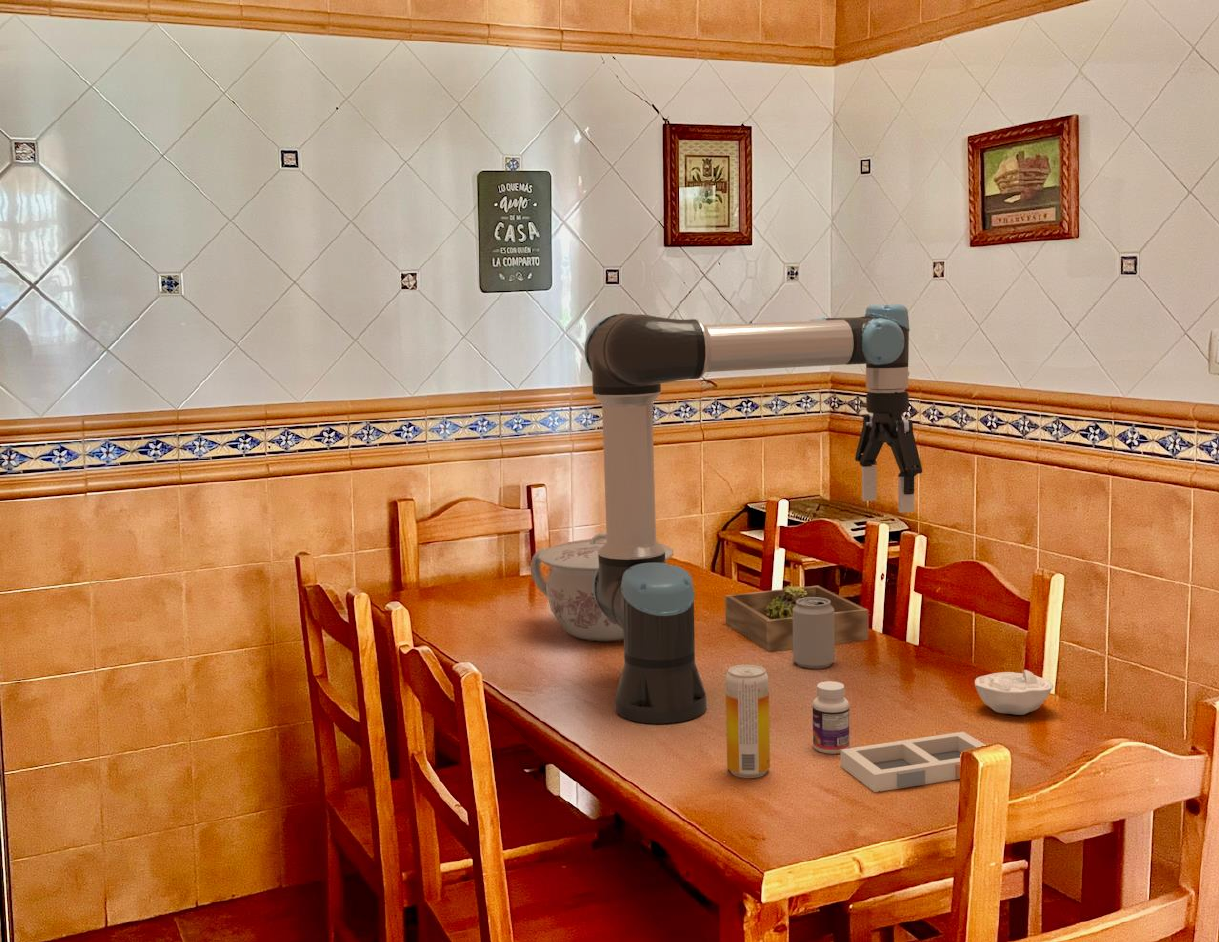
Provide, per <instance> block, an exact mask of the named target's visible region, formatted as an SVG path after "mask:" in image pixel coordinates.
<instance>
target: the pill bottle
mask: <svg viewBox="0 0 1219 942" xmlns="http://www.w3.org/2000/svg"><path fill="white" fill-rule="evenodd" d="M816 693H817V697H815V699H814V700H812V744H813V745H812V746H813V748H814V749H815V751H818V752H819V753H823V754H828V755H829V754H831V755H834V754H835V755H836V754H841V749H848V748H850V702H849V700H848V699H847V698H846V697H844V696H845V694H846V693H845V685H844V684H843V683H842V682H839V681H833V680H832V681H830V680H829V681H822V682H819V683H817V685H816Z"/></svg>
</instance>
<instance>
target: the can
mask: <svg viewBox="0 0 1219 942" xmlns="http://www.w3.org/2000/svg"><path fill="white" fill-rule="evenodd" d="M796 603H797V605H796V606H795V607H794V608H793V649H792V659H793V662H794V663H796V664H797V665H798V666H799V667H801V668H804V669H809V670H810V669H812V670H815V669H816V670H817V669H824V668H825V669H826V668H828V667H830V666H831V665H832V663H834V662H835V659H836V658H835V657H836V655H835V651H836V650H835V645H836V644H834V608H833V607H832V606H831V605H830V603H831V602H830V600H828V599H825V598H820V597H806V598H800V599H798V600H797V601H796Z"/></svg>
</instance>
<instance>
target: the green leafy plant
mask: <svg viewBox="0 0 1219 942" xmlns="http://www.w3.org/2000/svg"><path fill="white" fill-rule="evenodd" d="M802 587H803V586H799V585H798V586H796V585H795V586H793V585H787V586H783V588H782V589H783V591H784V593H785V595H784V596H778V597H777V598H774V600H772V601H771V600H770V601H771V603H769V604H768V606H767V607H766V608H765V614H764V615H765V616H766V617H768V618H770V619H780V618H789V617H793V608H794V607H795V606H796V605H797V603H796V601H797V600H798V599H800V598H804V596H805V595H807V591H804V590H805V589H802Z"/></svg>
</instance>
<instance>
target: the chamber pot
mask: <svg viewBox="0 0 1219 942" xmlns="http://www.w3.org/2000/svg"><path fill="white" fill-rule="evenodd" d="M606 541H607V536H606V532H605V533H598V534H595V535H594V536H593V537H592V538H588V539H580V540H574V541H567V542H564V543H559V544H557V545H554V546H551V547H548V548H546V547H543V548H540V549H539V550H538V551H536V552H535V553H534V554H533V556H532V559H531V561H530V570H529V571H530V574H531V578H532V580H533V582H534V583H535V585H536V586H537V587H538V589H539V591H540V592H541V593H543V594H544V595H545V596H546V597H547V599H548V600H547V601H548V603H549V607H550V611H551V613H552V614H553V615H554V617H555V619H556V620H557V621H558V623H559V624H560V626H561V627H562V629H563V630H564V631H565V632H566V633H567V634H568V635H570V636H572V637H575V638H578V639H581V640H584V641H589V642H596V643H611V642H612V643H614V642H624V633H623V629H622V628H621V627H620V626H619V625H618V624H616V623H615V622H613V621H611V620H610V619H609V618H608V617H607V616H605V615H604V613H603V612H602V611H601V609H600V608H599V606H598V604H597V602H596V600H595V598H594V594H593V579H594V575H595V573H596V571H597V569H598V568H599V558H598V551H599V550H600V549H601V548H602V547H603V546H604V544H605V543H606ZM659 544H660V545H661V546H662V547H663V548H664V549H665V562H666V561H667V560H669V559H670V558H672V557H673V556H674V549H672V548H671V547H670V546H668V545H666V544H662V543H659ZM541 562H542V563H543V565H547V566H550V568H551V569H550V570H549V573H548V574H547V576H546V580H545V578H544V577H543V573H542V571H541Z"/></svg>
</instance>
